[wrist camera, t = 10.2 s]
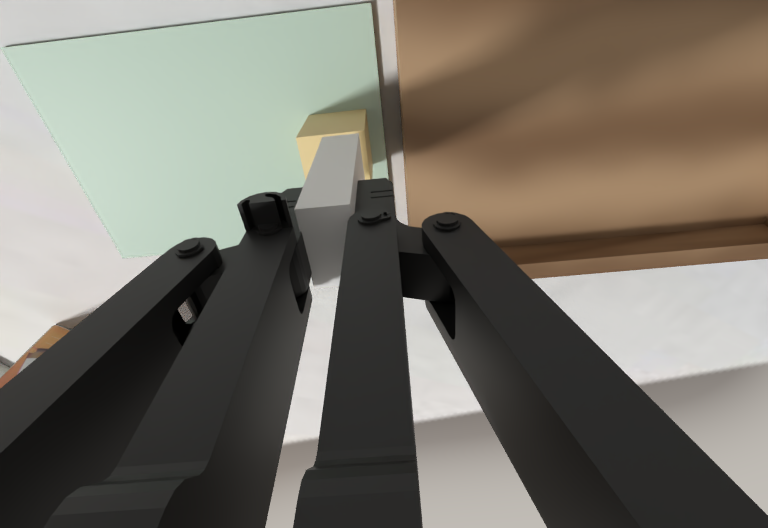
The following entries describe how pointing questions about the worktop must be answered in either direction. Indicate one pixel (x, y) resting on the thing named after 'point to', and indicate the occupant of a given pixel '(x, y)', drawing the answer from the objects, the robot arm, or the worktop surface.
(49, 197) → the worktop surface
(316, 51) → the cover plate
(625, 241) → the wooden tray
